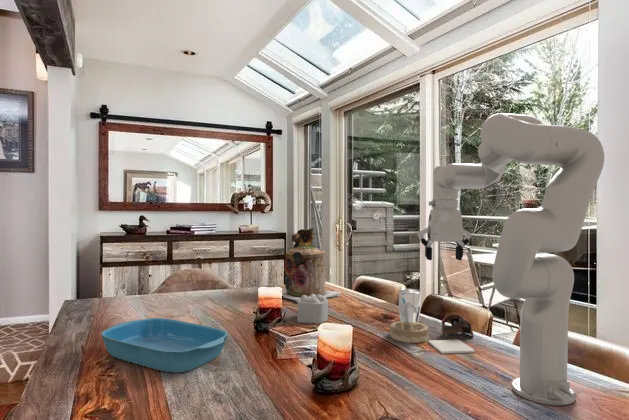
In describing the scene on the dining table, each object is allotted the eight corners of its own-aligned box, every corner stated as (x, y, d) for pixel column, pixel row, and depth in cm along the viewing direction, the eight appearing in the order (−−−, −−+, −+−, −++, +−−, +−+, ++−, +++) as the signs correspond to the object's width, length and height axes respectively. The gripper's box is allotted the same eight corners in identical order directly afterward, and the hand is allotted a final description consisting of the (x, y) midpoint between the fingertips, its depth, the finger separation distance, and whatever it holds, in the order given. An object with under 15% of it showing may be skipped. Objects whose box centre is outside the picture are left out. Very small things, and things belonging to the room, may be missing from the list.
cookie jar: (309, 288, 215) (309, 225, 215) (342, 296, 197) (343, 227, 196) (268, 294, 200) (268, 226, 199) (300, 304, 181) (301, 229, 180)
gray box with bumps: (294, 321, 154) (294, 298, 154) (306, 313, 166) (306, 291, 166) (321, 324, 150) (321, 300, 150) (331, 315, 163) (331, 293, 163)
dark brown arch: (479, 342, 134) (469, 321, 132) (451, 353, 135) (440, 332, 134) (468, 322, 145) (459, 302, 144) (442, 332, 147) (433, 313, 145)
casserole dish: (243, 355, 119) (243, 330, 119) (185, 385, 100) (185, 354, 99) (149, 336, 136) (150, 314, 136) (84, 358, 116) (84, 332, 116)
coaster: (474, 352, 123) (474, 350, 123) (441, 353, 122) (441, 351, 122) (458, 341, 133) (458, 339, 133) (428, 342, 131) (428, 340, 131)
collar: (433, 342, 132) (433, 330, 132) (397, 343, 130) (397, 331, 130) (419, 331, 143) (419, 320, 143) (386, 332, 142) (386, 321, 142)
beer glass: (395, 338, 135) (396, 291, 135) (401, 332, 142) (402, 287, 141) (417, 341, 132) (417, 293, 132) (422, 335, 138) (423, 289, 138)
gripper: (422, 205, 129) (421, 261, 129) (477, 205, 130) (475, 261, 131) (414, 204, 136) (413, 257, 137) (466, 205, 138) (464, 257, 138)
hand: (443, 259), depth 134 cm, fingers open, 9 cm apart
